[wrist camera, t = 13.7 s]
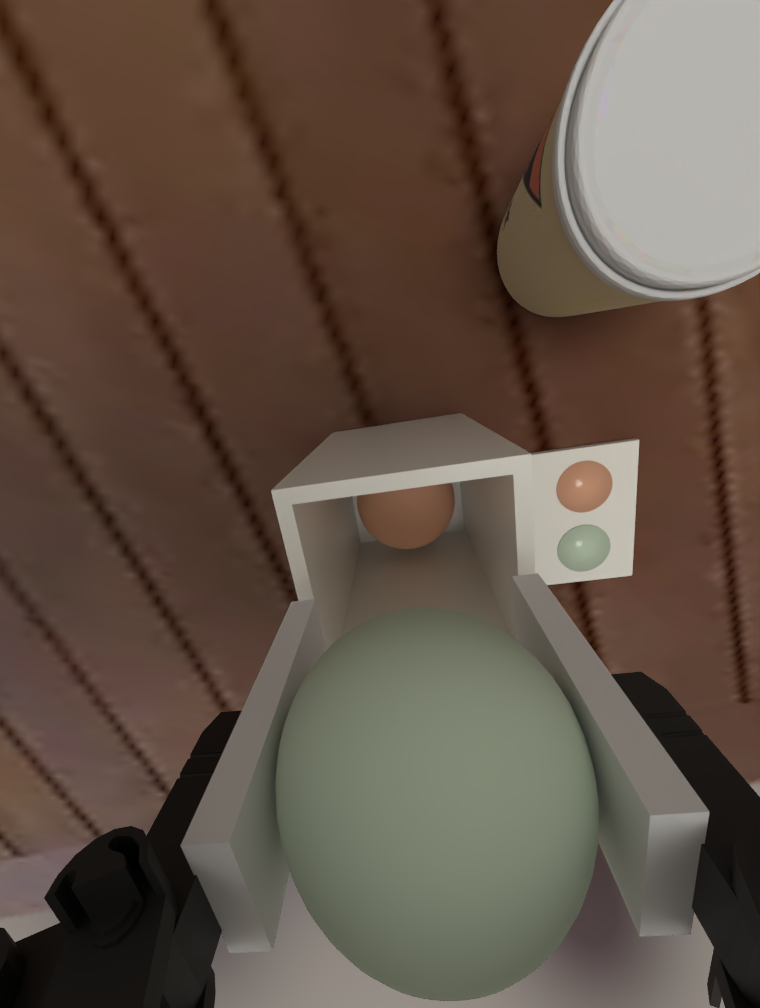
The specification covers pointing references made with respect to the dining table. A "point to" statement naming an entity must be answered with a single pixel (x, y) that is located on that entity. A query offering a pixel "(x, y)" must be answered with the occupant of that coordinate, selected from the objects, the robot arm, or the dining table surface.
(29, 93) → the dining table surface
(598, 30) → the coffee cup
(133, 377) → the dining table surface
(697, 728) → the robot arm
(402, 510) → the ball terracotta
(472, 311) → the dining table surface
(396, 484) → the open square box
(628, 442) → the card
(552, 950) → the ball sage
